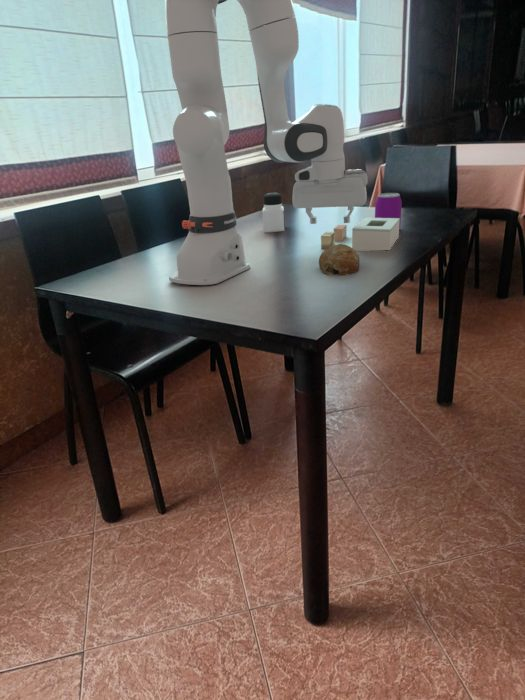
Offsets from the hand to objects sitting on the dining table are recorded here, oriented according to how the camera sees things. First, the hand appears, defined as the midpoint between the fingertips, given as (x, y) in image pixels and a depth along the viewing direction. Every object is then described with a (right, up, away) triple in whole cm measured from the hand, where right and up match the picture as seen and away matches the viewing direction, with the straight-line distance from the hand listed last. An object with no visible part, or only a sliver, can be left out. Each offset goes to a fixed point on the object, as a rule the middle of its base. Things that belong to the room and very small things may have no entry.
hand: (330, 223), depth 138 cm
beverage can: (+19, 0, +14) cm, 24 cm away
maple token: (0, -7, +3) cm, 7 cm away
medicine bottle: (-15, +5, +30) cm, 34 cm away
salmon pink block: (+4, -3, +10) cm, 11 cm away
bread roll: (+1, -16, -15) cm, 22 cm away
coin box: (+13, -7, 0) cm, 15 cm away
